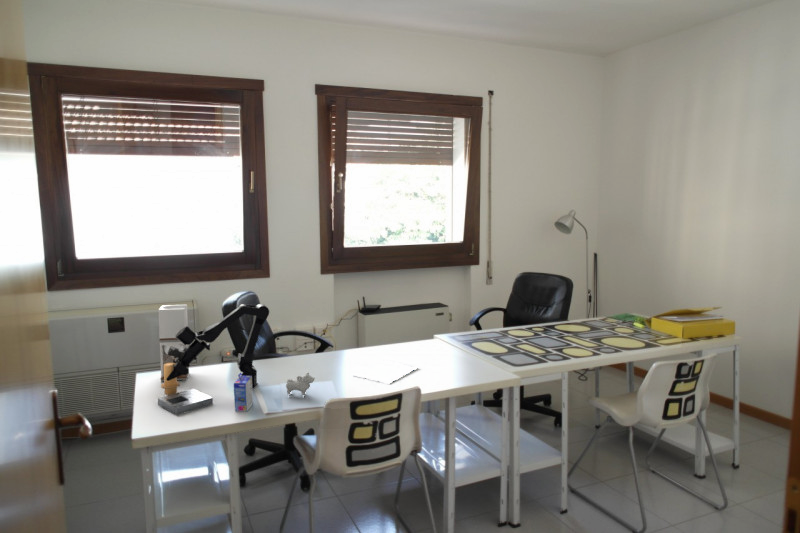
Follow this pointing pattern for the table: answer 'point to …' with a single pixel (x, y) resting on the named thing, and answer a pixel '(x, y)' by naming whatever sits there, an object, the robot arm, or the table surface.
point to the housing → (185, 401)
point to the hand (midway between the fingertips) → (166, 378)
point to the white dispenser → (171, 332)
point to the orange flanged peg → (171, 384)
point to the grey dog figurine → (300, 383)
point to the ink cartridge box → (243, 393)
